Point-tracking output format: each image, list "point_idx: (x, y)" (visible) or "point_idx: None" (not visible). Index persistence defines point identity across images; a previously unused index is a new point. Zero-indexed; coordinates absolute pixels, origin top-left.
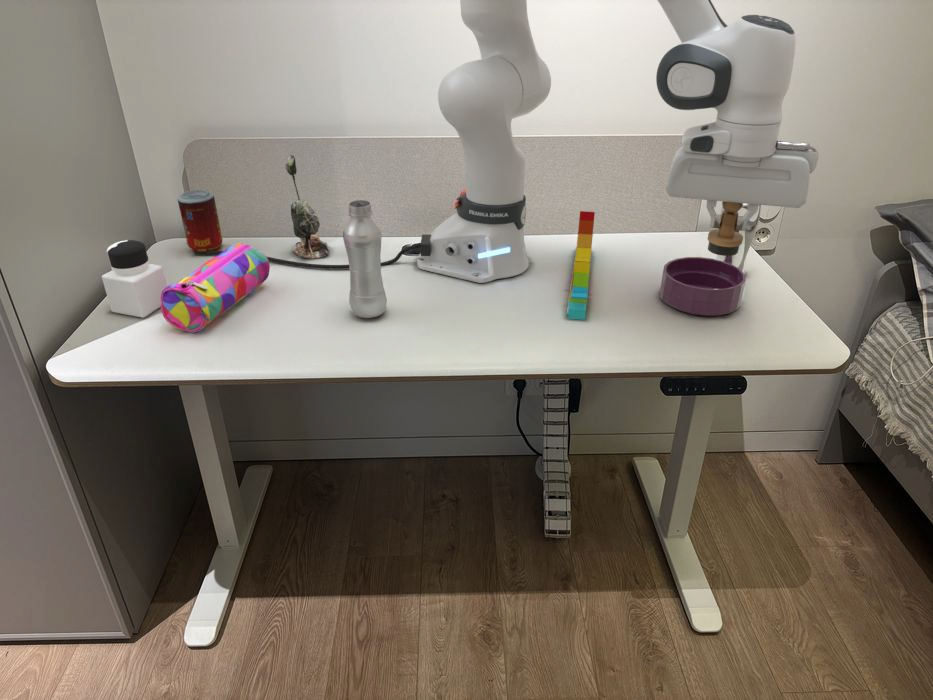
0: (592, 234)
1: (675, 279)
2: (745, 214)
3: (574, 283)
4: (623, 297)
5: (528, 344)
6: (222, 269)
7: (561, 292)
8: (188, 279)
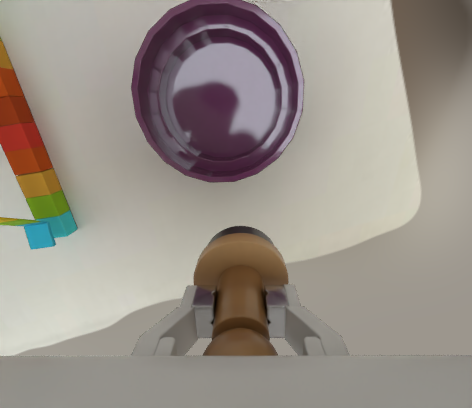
0: None
1: (167, 66)
2: (294, 325)
3: (12, 225)
4: (101, 135)
5: (45, 301)
6: None
7: None
8: None
